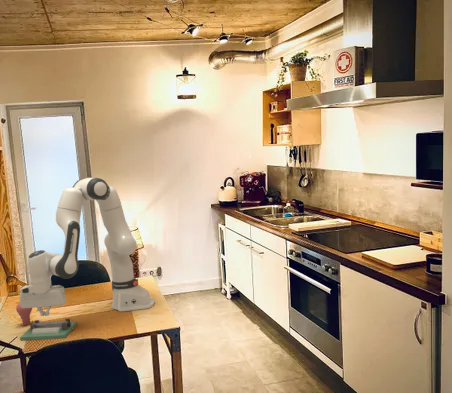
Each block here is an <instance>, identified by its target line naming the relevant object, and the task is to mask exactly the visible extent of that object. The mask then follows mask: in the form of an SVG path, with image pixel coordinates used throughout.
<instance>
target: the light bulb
mask: <svg viewBox="0 0 452 393" xmlns="http://www.w3.org/2000/svg"><path fill="white" fill-rule="evenodd" d="M15 309H16V312H17V314H18V315H19V317H20V319H21V321H22V324H23V325H26V326H27V325H29V324H30V323H31V316H30V315H31V313H32V310H33V308H22V307H21V306H20V301H19V302H18V303H17V305H16V308H15Z"/></svg>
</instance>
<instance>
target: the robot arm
mask: <svg viewBox="0 0 452 393" xmlns="http://www.w3.org/2000/svg"><path fill="white" fill-rule="evenodd" d="M94 200H95V201H96V202H97V204H98V208H99V211H100V212H99V213H100V215H101V219H102V220H101V221H102V223H103V226H104V227H105V229H106V231H107V234H106V235H105V237H104V241H103V242H104V245H105V248H106V252H107V256H108V260H109V263H110V264H109V265H110V268H111V277H112V278H111V289H112V303H111V308H112V309H113V310H117V311H118V312H129V311H137V310H138V311H139V310H146V309H150V308H152V307H154V305H155V303H156V301H155V298H153V297H151V295H150V292H149V290H148V289H146V288H145V287H143V286H141V285H140V284H139V278H135V274H134V264H133V260H132V259H131V257H130V256H131V255H133V254H134V253H135V252H136V250H137V241H136V240H135V238H134V236H133V234H132V232H131V229H130V228H129V225H128V223H127V220H126V217H125V212H124V209H123V205H122V202H121V199H120V196H119V194H118V192H117V189H116V188H114V187H113V186H109V184H108V183H107V181H106V180H104V179H102V178H99V177H86V178H81V179H78V180H77V181H76V182H75V183H74V184H73V186H71V187H69V186H68V187H66V188H65V189H64V190H63V191H62V193H61V196H60V198H59V201H58V205H57V208H56V212H55V222H56V224H57V226H58V227H59V228H60V229H61V230H62V231H63V233H64V237H65V238H64V244H63V245H64V246H63V252H62V254H59V253H52V252H48V251H46V250H43V249H41V250H36V251H33V252H32V253H30V254H29V255H28V258H27V269H28V270H27V271H28V275H29V277H30V278H29V283H28V284H26V285H24V286H22V288H20V289H19V293H20V295H19V302H20V306H21V307H22V308H32V309H33V308H36V310H37V311H38V312H39V313H40V317H44V316H50V310H51V308H52V307H56V306H59V307H61V306H64V305H65V303H67V297H66V294H65V293H66V292H65V287H64V286H63V285H61V284H57V285H55V284H53V285H52V279H51V277H52V276H57V277H60V278H61V279H65V280H66V279H71V278H73V277H74V276H75V275H76V274H77V273H78V270H79V259H78V258H79V257H78V252H79V245H80V238H81V237H80V235H81V226H80V223H81V221H80V220H81V215H82V210H83V205H84V204H85V202H86V201H94ZM44 307H45V308H46V310H43V309H42V308H44Z"/></svg>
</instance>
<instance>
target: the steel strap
mask: <svg viewBox="0 0 452 393" xmlns="http://www.w3.org/2000/svg"><path fill="white" fill-rule="evenodd" d="M62 322H67V324H68V323H69V321H68V320H66V321H65V320H55V321H39V322H35V321H34V322H32V323H31V324H35V327H41V326H59V325H62V324H61V323H62ZM30 328H31V326H30Z"/></svg>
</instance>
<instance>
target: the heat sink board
mask: <svg viewBox="0 0 452 393" xmlns="http://www.w3.org/2000/svg"><path fill="white" fill-rule="evenodd" d="M66 320H68V321H69V323H68V324H67V322H62V323H61V324H62V325H59V326H41V327H35V324H32V323H31V324H30V326H31V327H30V328H28V329H27V331H25V332H24V333H23V334H22V335H21V336H19V340H21V341H38V340H40V341H41V340H55V339H56V340H58V339H66V337H67V336H68V335H69V334H70V333H71V332H72V331H73V330H74V328H75V327H76V326H77V325H78V321H77V320H74V321H71V318H69V317H68V318H64V321H66ZM34 322H40V320H39V319H35V320H34Z"/></svg>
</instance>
